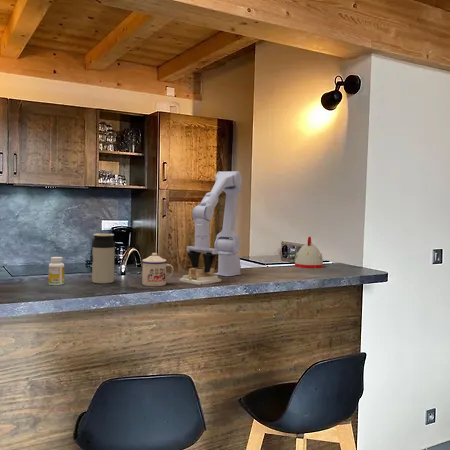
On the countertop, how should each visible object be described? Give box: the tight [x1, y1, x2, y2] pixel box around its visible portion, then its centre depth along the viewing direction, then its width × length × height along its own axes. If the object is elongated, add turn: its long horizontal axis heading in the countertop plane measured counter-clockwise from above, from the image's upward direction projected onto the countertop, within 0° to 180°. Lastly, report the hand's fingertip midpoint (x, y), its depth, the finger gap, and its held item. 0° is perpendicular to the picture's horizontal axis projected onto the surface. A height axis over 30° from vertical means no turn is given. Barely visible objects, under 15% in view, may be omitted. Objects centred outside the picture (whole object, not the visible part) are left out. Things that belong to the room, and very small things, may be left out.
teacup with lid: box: [141, 252, 174, 287], centre depth 182 cm, size 12×9×12 cm
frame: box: [188, 266, 215, 280], centre depth 192 cm, size 9×5×4 cm, turn 139°
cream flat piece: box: [178, 274, 222, 286], centre depth 191 cm, size 12×11×2 cm
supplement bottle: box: [48, 256, 65, 286], centre depth 177 cm, size 5×5×10 cm
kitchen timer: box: [294, 236, 324, 269], centre depth 246 cm, size 14×14×15 cm
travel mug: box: [91, 233, 116, 285], centre depth 184 cm, size 8×8×18 cm
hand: (201, 271), depth 191 cm, fingers open, 6 cm apart
